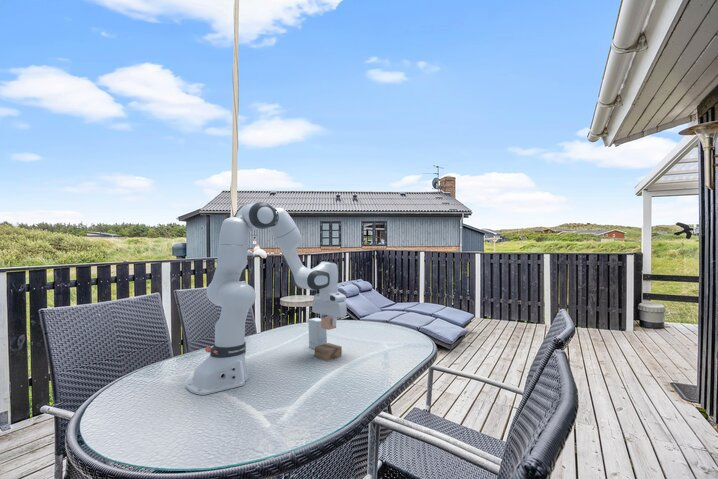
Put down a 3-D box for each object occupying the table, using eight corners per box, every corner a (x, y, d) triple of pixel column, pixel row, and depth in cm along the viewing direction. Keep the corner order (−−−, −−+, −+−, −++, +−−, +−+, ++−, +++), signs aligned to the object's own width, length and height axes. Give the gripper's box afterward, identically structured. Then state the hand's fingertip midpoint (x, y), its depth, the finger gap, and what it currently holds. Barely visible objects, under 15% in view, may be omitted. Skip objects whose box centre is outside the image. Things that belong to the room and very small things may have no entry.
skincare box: (327, 348, 184) (327, 319, 184) (317, 351, 179) (318, 321, 179) (317, 345, 190) (317, 316, 190) (307, 347, 185) (308, 318, 186)
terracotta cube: (328, 329, 167) (328, 319, 167) (321, 328, 171) (321, 317, 171) (336, 327, 171) (336, 317, 171) (328, 326, 174) (328, 315, 175)
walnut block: (327, 361, 164) (327, 350, 164) (314, 357, 170) (314, 346, 170) (341, 357, 171) (341, 346, 171) (328, 353, 177) (328, 342, 177)
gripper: (309, 293, 175) (309, 322, 175) (339, 298, 162) (339, 329, 162) (318, 292, 180) (318, 320, 180) (348, 296, 167) (348, 326, 167)
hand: (328, 324), depth 171 cm, fingers closed on terracotta cube, 5 cm apart
